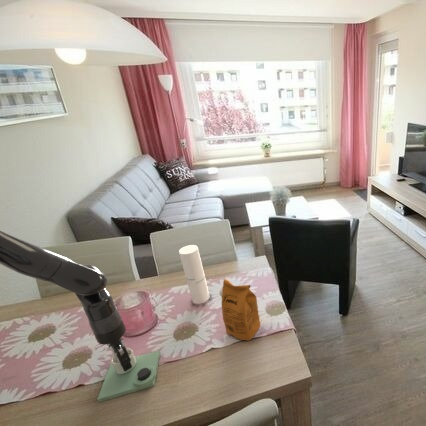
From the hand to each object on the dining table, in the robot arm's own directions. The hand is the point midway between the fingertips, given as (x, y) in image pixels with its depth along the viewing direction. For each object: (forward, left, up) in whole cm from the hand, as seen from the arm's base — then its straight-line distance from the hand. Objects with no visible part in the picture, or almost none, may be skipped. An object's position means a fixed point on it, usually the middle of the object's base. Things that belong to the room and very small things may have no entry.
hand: (123, 361), depth 95 cm
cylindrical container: (+22, +29, -4) cm, 37 cm away
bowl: (0, 0, -3) cm, 3 cm away
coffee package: (+38, +4, -4) cm, 39 cm away
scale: (+2, -3, -4) cm, 5 cm away
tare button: (+7, -7, -1) cm, 10 cm away
